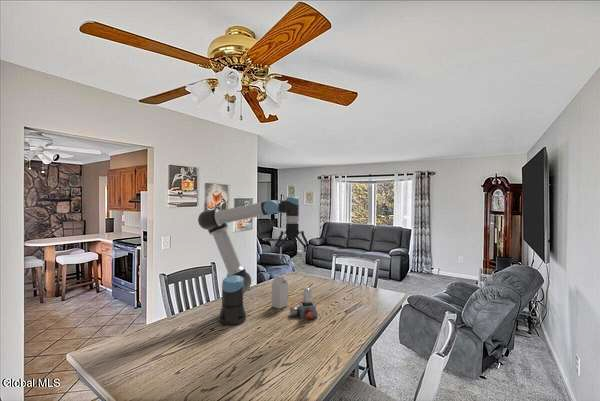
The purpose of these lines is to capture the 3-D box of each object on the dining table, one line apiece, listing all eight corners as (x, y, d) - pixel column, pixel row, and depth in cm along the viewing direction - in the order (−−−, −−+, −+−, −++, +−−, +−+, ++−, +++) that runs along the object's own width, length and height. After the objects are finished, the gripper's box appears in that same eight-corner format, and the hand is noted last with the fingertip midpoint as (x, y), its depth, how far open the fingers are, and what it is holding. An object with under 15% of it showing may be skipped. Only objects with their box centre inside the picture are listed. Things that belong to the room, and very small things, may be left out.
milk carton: (279, 309, 177) (280, 278, 177) (271, 306, 181) (271, 276, 181) (287, 305, 183) (287, 276, 183) (278, 303, 187) (279, 274, 187)
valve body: (292, 321, 160) (292, 309, 160) (289, 312, 172) (289, 302, 172) (318, 319, 162) (318, 308, 162) (314, 311, 174) (314, 300, 174)
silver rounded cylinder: (304, 310, 166) (304, 290, 166) (302, 307, 171) (303, 287, 171) (312, 310, 167) (312, 289, 167) (310, 307, 171) (310, 287, 171)
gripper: (271, 223, 165) (271, 260, 165) (314, 223, 170) (313, 259, 170) (271, 222, 173) (270, 257, 173) (311, 222, 177) (311, 256, 177)
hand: (291, 258), depth 171 cm, fingers open, 13 cm apart
